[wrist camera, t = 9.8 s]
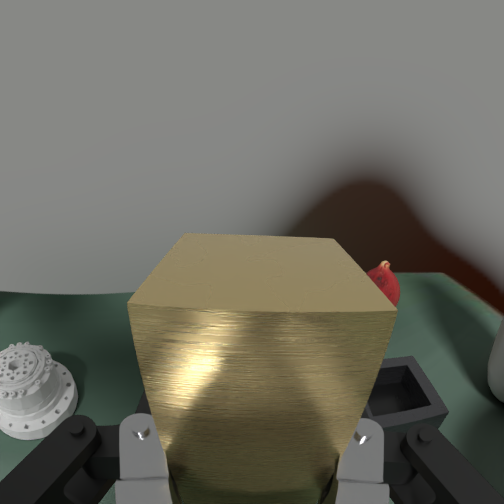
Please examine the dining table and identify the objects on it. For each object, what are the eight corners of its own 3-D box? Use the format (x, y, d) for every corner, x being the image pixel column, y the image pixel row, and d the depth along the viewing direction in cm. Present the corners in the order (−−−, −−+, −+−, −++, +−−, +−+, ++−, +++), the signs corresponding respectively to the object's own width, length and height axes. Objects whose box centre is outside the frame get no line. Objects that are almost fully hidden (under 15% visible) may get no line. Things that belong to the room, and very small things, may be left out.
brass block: (291, 539, 9) (398, 310, 4) (200, 537, 9) (126, 302, 4) (285, 475, 13) (333, 238, 9) (207, 473, 13) (184, 233, 9)
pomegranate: (383, 335, 32) (400, 274, 29) (343, 319, 35) (355, 261, 33) (397, 316, 36) (411, 261, 33) (361, 303, 40) (371, 250, 37)
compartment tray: (404, 374, 25) (412, 355, 24) (436, 430, 17) (449, 411, 16) (179, 378, 24) (176, 358, 24) (160, 447, 17) (154, 428, 16)
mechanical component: (86, 435, 16) (75, 362, 24) (67, 398, 15) (63, 326, 23) (-11, 444, 11) (-3, 373, 19) (-38, 408, 10) (-18, 339, 18)
